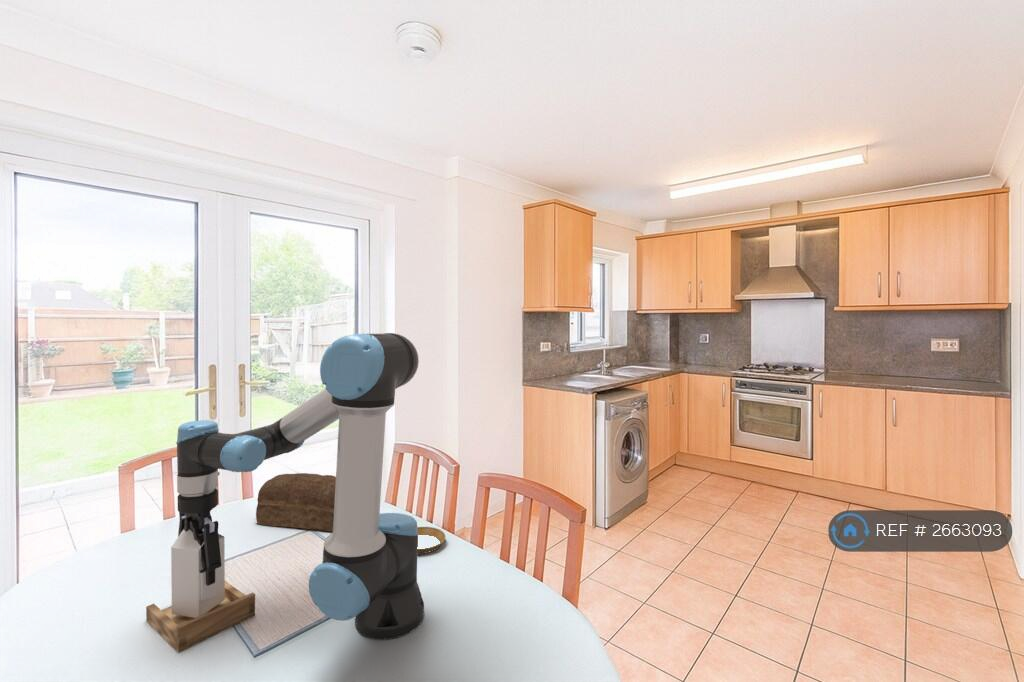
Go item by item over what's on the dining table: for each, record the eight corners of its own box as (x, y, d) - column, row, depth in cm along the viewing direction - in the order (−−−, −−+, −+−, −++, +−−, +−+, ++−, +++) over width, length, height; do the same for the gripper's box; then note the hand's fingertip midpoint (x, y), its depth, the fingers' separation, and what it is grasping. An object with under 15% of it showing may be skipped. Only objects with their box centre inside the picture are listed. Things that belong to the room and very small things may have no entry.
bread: (340, 535, 147) (340, 485, 147) (249, 525, 153) (249, 477, 152) (362, 516, 162) (363, 471, 161) (279, 508, 167) (279, 464, 167)
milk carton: (198, 619, 102) (198, 532, 101) (171, 614, 103) (170, 529, 102) (224, 600, 108) (224, 519, 108) (199, 596, 110) (198, 516, 109)
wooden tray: (255, 615, 106) (255, 593, 106) (178, 652, 94) (178, 628, 94) (219, 589, 116) (219, 570, 116) (146, 620, 104) (146, 598, 103)
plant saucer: (453, 549, 140) (454, 540, 140) (406, 562, 131) (406, 553, 131) (432, 530, 152) (432, 522, 152) (388, 542, 144) (388, 533, 144)
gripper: (239, 497, 102) (239, 599, 102) (195, 476, 114) (196, 568, 115) (201, 507, 95) (201, 616, 96) (158, 485, 108) (159, 581, 109)
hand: (198, 589), depth 106 cm, fingers closed on milk carton, 9 cm apart
